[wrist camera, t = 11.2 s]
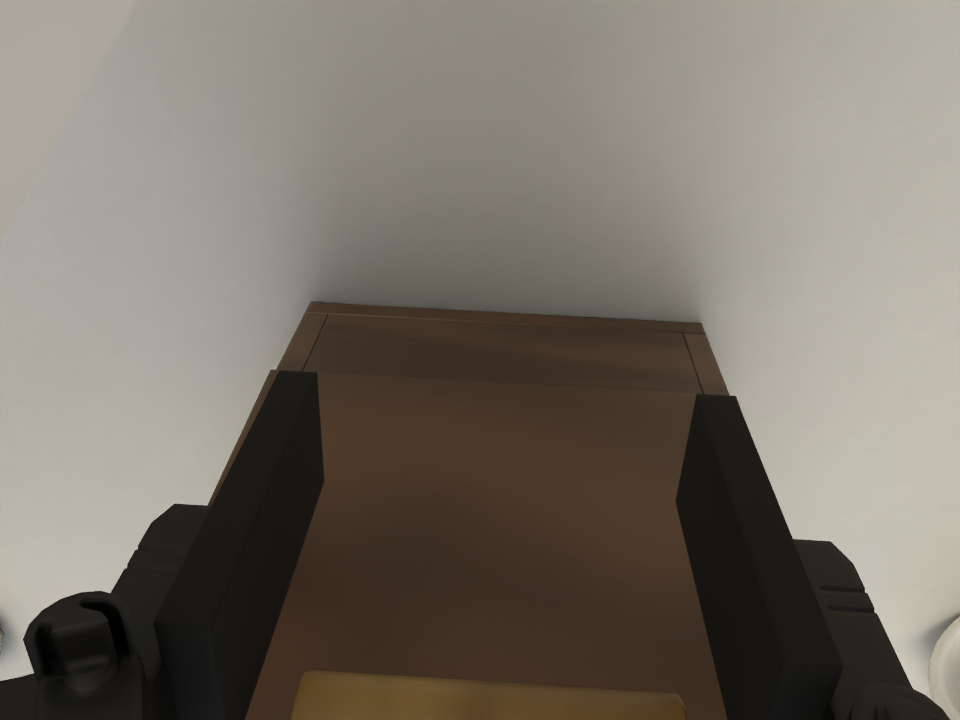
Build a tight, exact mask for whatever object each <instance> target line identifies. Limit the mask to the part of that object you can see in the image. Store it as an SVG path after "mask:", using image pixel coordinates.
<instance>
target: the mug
mask: <svg viewBox="0 0 960 720" xmlns="http://www.w3.org/2000/svg"><path fill="white" fill-rule="evenodd" d="M928 683H929V689H930V694H931V697H932V700H933V702H934V703H936V704H937V705H938V706H939V707H941V708H942V709H943V710H944V712H945V713H946V715H947V716H948V717H949V719H950V720H960V617H958V618H957V619H956V620H955V621H954V622H952V623H951V624H950V625H949V626H948V627H947V629H946V630H945V631H944V632H943V634H942V635H941V636H940V638H939V640H938V641H937V643H936V645H935V647H934V649H933V652H932V655H931V658H930V662H929V669H928Z"/></svg>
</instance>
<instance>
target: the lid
mask: <svg viewBox="0 0 960 720" xmlns="http://www.w3.org/2000/svg"><path fill="white" fill-rule="evenodd" d="M278 372H279V370H270V372H269V375H268V377H267V379H266V381H265V383H264V385H263V387H262V390H261V392H260V394H259V396H258V398H257V400H256V402H255V405H254V407H253V409H252V411H251V413H250V415H249V417H248V420H247V422H246V424H245V426H244V428H243V430H242V433H241V435H240V437H239V439H238V441H237V443H236V445H235V448H234V450H233V452H232V454H231V456H230V458H229V460H228V463H227V465H226V467H225V469H224V471H223V473H222V475H221V478H220V480H219V482H218V484H217V486H216V488H215V491H214V493H213V495H212V497H211V499H210V501H209V503H208V506H212V504H213V502H214V500H215V498H216V496H217V494H218V492H219V490H220V488H221V486H222V484H223V482H224V480H225V478H226V476H227V474H228V472H229V470H230V468H231V466H232V464H233V462H234V460H235V458H236V456H237V454H238V452H239V450H240V448H241V446H242V444H243V442H244V440H245V438H246V436H247V434H248V432H249V430H250V428H251V426H252V424H253V422H254V420H255V418H256V416H257V414H258V412H259V410H260V408H261V406H262V404H263V402H264V400H265V398H266V396H267V394H268V392H269V390H270V388H271V386H272V384H273V382H274V380H275V378H276V376H277V374H278ZM317 378H318V393H319V407H320V422H321V436H322V450H323V465H324V479H325V481H324V484H323V487H322V490H321V493H320V496H319V499H318V502H317V505H316V508H315V511H314V514H313V517H312V520H311V523H310V526H309V529H308V532H307V535H306V538H305V541H304V544H303V547H302V550H301V553H300V556H299V559H298V562H297V565H296V568H295V571H294V574H293V577H292V580H291V583H290V586H289V589H288V592H287V595H286V598H285V601H284V604H283V607H282V610H281V613H280V616H279V619H278V622H277V625H276V628H275V631H274V634H273V637H272V640H271V643H270V646H269V649H268V652H267V655H266V658H265V661H264V664H263V667H262V670H261V673H260V676H259V679H258V682H257V685H256V688H255V691H254V694H253V697H252V700H251V703H250V706H249V709H248V712H247V715H246V718H245V720H727V716H726V711H725V707H724V703H723V699H722V695H721V691H720V686H719V682H718V678H717V674H716V670H715V665H714V661H713V657H712V653H711V649H710V644H709V640H708V636H707V632H706V628H705V624H704V619H703V615H702V611H701V607H700V603H699V598H698V594H697V590H696V586H695V582H694V578H693V573H692V569H691V565H690V561H689V557H688V552H687V548H686V544H685V540H684V536H683V531H682V527H681V523H680V519H679V515H678V511H677V506H676V502H675V501H676V496H677V491H678V485H679V480H680V475H681V470H682V465H683V460H684V455H685V450H686V445H687V440H688V434H689V429H690V424H691V419H692V414H693V409H694V404H695V399H696V394H692V393H675V392H657V391H639V390H621V389H603V388H586V387H568V386H550V385H532V384H514V383H497V382H479V381H461V380H443V379H426V378H408V377H390V376H372V375H354V374H337V373H319V372H317ZM735 397H736V396H735ZM736 400H737V398H736ZM737 402H738V401H737ZM738 405H739V403H738ZM739 407H740V406H739Z"/></svg>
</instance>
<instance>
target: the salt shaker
mask: <svg viewBox="0 0 960 720" xmlns="http://www.w3.org/2000/svg"><path fill="white" fill-rule="evenodd" d="M3 635H4V634H3V633H2V632H1V630H0V653H1V647H2V641H3Z"/></svg>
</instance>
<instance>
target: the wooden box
mask: <svg viewBox="0 0 960 720" xmlns="http://www.w3.org/2000/svg"><path fill="white" fill-rule="evenodd" d="M276 370H286V371H304V372H319V373H337V374H354V375H372V376H390V377H408V378H426V379H443V380H461V381H479V382H497V383H514V384H532V385H550V386H568V387H586V388H603V389H621V390H639V391H657V392H675V393H692V394H710V395H728V396H730V395H729V392H728V390H727V387H726V385H725V382H724V380H723V377H722V375H721V372H720V370H719V367H718V364H717V362H716V359H715V357H714V354H713V352H712V349H711V347H710V344H709V342H708V339H707V336H706V333H705V331H704V328H703V326H702V324H701V323H684V322H666V321H647V320H629V319H611V318H592V317H574V316H556V315H537V314H519V313H500V312H482V311H464V310H445V309H427V308H408V307H390V306H372V305H353V304H335V303H316V302H310V304H309V306H308V308H307V310H306V312H305V314H304V316H303V318H302V320H301V322H300V324H299V326H298V328H297V330H296V332H295V334H294V336H293V338H292V340H291V342H290V344H289V346H288V348H287V350H286V352H285V354H284V355H283V357H282V359H281V361H280V363H279V365H278V367H277V369H276Z"/></svg>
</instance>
